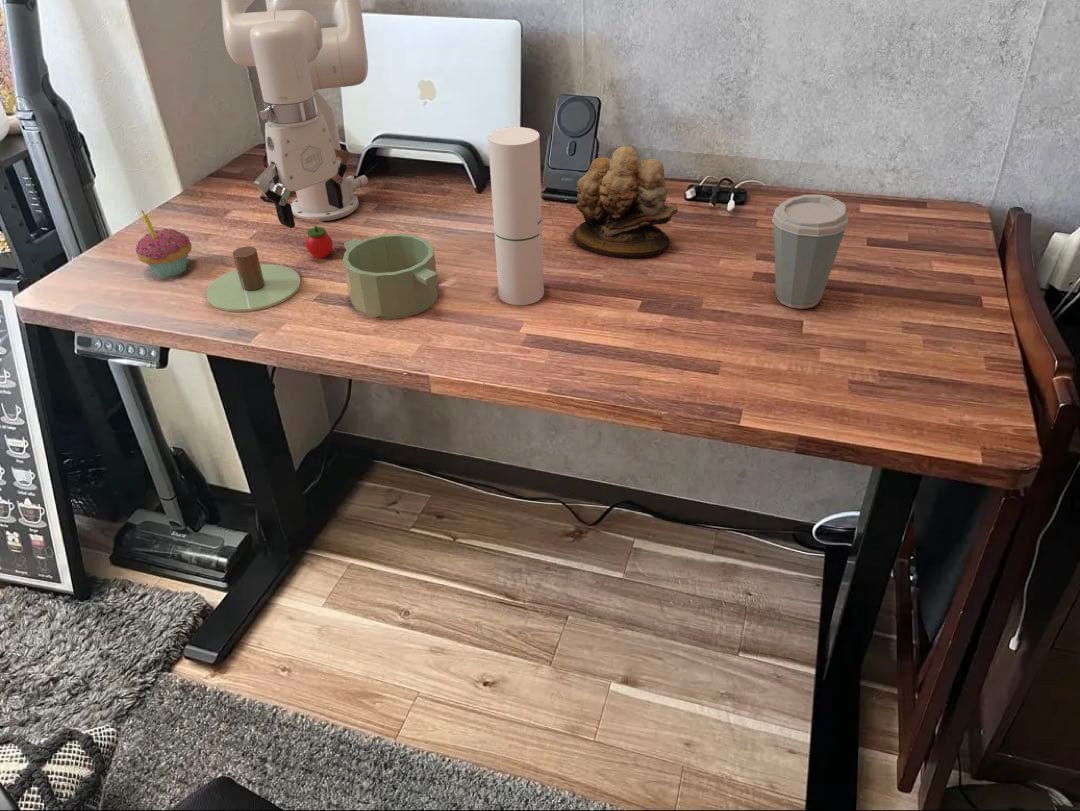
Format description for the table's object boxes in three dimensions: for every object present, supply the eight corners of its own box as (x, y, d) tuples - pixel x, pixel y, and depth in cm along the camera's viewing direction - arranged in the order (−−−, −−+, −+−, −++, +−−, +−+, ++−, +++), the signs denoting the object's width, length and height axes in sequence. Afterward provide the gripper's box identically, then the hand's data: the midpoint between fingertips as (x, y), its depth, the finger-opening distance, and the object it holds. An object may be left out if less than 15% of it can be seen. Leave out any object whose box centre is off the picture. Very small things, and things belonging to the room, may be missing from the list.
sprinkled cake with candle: (180, 286, 138) (158, 217, 130) (134, 282, 139) (109, 214, 132) (207, 261, 144) (187, 195, 137) (162, 258, 146) (140, 192, 139)
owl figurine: (682, 234, 147) (690, 138, 137) (665, 265, 139) (672, 164, 128) (584, 221, 153) (584, 127, 142) (562, 250, 144) (561, 152, 134)
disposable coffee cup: (792, 323, 123) (809, 228, 114) (745, 291, 131) (758, 200, 122) (847, 304, 127) (868, 211, 118) (799, 274, 135) (814, 185, 126)
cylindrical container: (550, 285, 134) (546, 129, 119) (535, 308, 129) (529, 147, 114) (508, 279, 136) (499, 125, 121) (491, 301, 131) (480, 142, 116)
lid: (267, 261, 144) (257, 223, 139) (320, 288, 136) (311, 247, 132) (189, 295, 135) (177, 255, 131) (241, 325, 127) (229, 284, 123)
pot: (388, 263, 142) (382, 221, 138) (468, 298, 132) (464, 254, 127) (322, 294, 134) (313, 252, 130) (402, 335, 124) (396, 290, 119)
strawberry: (324, 249, 147) (318, 217, 143) (340, 256, 144) (334, 224, 141) (303, 258, 144) (296, 226, 141) (319, 266, 142) (312, 234, 138)
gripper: (256, 129, 122) (281, 239, 132) (351, 100, 132) (368, 204, 142) (228, 120, 126) (254, 227, 136) (322, 92, 136) (340, 194, 146)
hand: (312, 215), depth 139 cm, fingers open, 9 cm apart
